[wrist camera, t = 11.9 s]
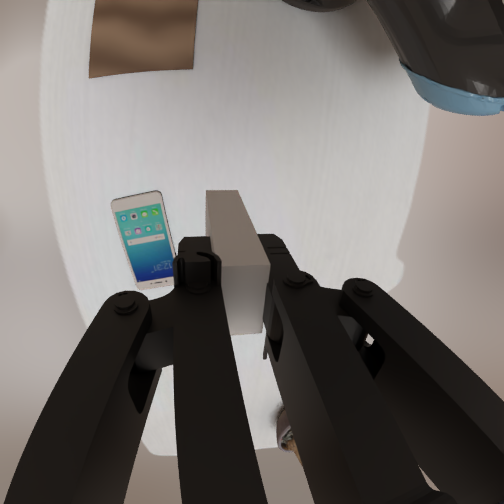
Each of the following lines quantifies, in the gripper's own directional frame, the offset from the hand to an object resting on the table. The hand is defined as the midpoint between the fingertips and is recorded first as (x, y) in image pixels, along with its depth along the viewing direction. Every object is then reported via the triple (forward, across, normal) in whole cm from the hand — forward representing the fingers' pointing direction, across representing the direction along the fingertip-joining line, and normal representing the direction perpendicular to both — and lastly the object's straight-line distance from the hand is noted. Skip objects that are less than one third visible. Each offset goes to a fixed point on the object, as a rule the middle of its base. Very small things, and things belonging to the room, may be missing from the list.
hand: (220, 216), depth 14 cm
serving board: (+25, -8, +17) cm, 31 cm away
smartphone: (+25, -8, -14) cm, 30 cm away
